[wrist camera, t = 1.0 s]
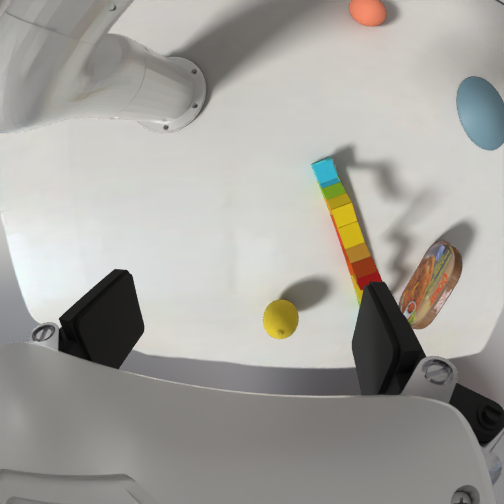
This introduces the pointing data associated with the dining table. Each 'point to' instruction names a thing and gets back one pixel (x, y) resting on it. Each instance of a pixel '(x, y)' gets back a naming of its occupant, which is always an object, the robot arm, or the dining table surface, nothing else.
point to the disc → (481, 112)
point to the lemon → (280, 319)
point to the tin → (431, 284)
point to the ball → (368, 12)
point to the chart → (346, 226)
